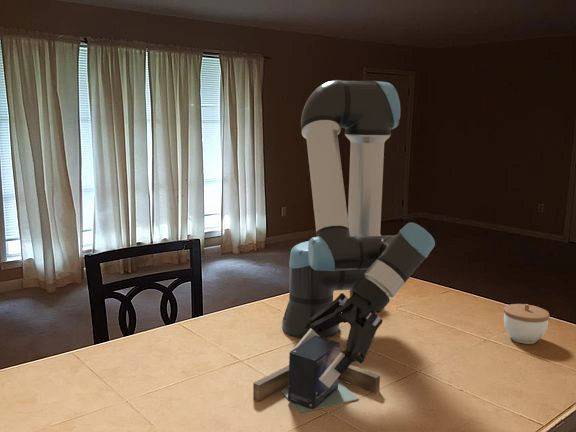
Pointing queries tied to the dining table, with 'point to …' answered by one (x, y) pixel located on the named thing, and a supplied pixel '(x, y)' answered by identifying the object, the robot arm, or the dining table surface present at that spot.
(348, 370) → the walnut corner fence
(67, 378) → the dining table surface
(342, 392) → the pad
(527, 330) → the lidded jar
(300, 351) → the small box
